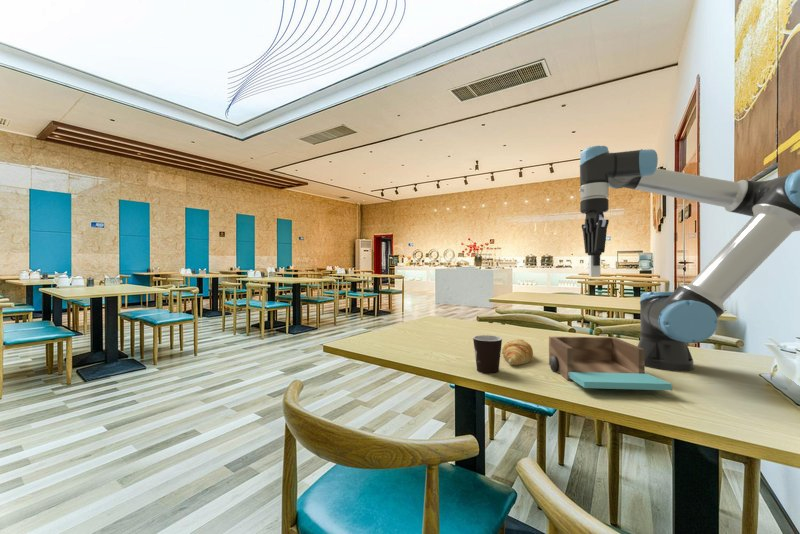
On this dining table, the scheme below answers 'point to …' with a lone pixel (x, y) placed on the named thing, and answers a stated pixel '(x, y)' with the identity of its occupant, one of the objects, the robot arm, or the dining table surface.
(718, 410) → the dining table surface
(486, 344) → the coffee mug
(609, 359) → the cart
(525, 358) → the croissant
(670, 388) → the tailgate
